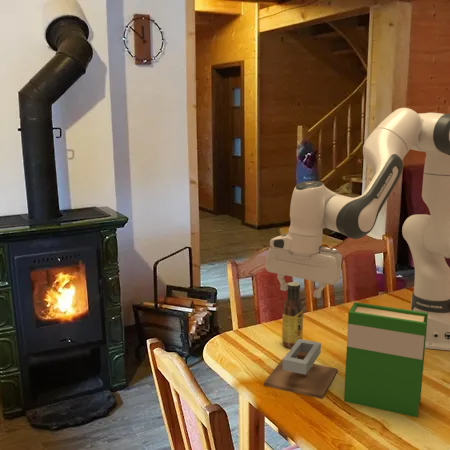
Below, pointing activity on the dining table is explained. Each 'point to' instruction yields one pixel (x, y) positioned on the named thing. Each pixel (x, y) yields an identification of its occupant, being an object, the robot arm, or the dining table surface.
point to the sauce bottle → (292, 316)
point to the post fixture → (302, 379)
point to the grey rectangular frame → (298, 364)
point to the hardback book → (385, 358)
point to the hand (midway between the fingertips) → (300, 293)
